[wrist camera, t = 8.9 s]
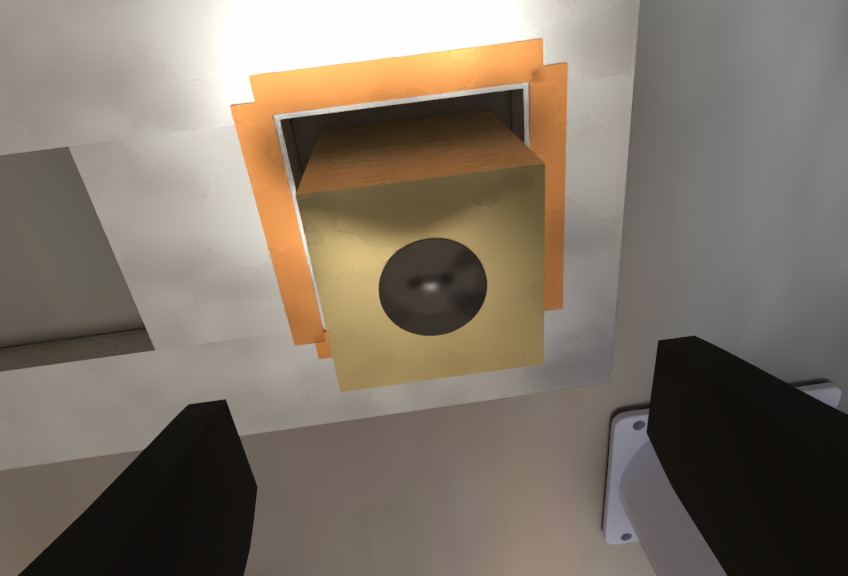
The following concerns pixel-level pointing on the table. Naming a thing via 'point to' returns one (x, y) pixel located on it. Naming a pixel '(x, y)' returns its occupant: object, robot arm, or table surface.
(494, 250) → the brass nut
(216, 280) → the panel
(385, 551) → the table surface
